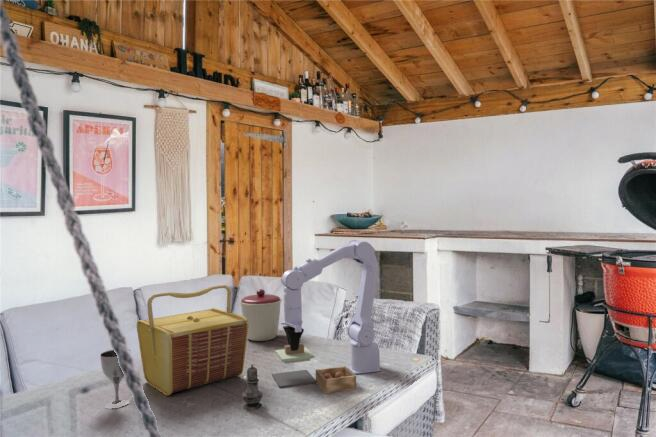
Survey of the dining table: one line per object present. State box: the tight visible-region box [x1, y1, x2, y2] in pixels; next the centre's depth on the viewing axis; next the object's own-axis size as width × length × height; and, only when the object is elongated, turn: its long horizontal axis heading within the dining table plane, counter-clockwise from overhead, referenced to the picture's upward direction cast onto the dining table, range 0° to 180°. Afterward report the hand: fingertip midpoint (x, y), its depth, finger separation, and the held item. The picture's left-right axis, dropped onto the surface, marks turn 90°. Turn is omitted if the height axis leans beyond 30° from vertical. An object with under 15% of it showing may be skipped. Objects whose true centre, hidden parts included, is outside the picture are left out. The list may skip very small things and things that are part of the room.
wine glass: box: [100, 349, 131, 404], centre depth 144 cm, size 8×8×15 cm
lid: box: [275, 343, 315, 364], centre depth 162 cm, size 10×10×4 cm
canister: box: [239, 288, 283, 342], centre depth 213 cm, size 18×18×21 cm
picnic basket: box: [136, 284, 248, 396], centre depth 163 cm, size 29×26×30 cm
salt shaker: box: [241, 364, 264, 411], centre depth 141 cm, size 6×6×12 cm
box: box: [315, 365, 357, 394], centre depth 156 cm, size 10×10×4 cm
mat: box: [271, 369, 317, 389], centre depth 162 cm, size 12×12×1 cm
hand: (293, 349), depth 162 cm, fingers closed on lid, 2 cm apart
